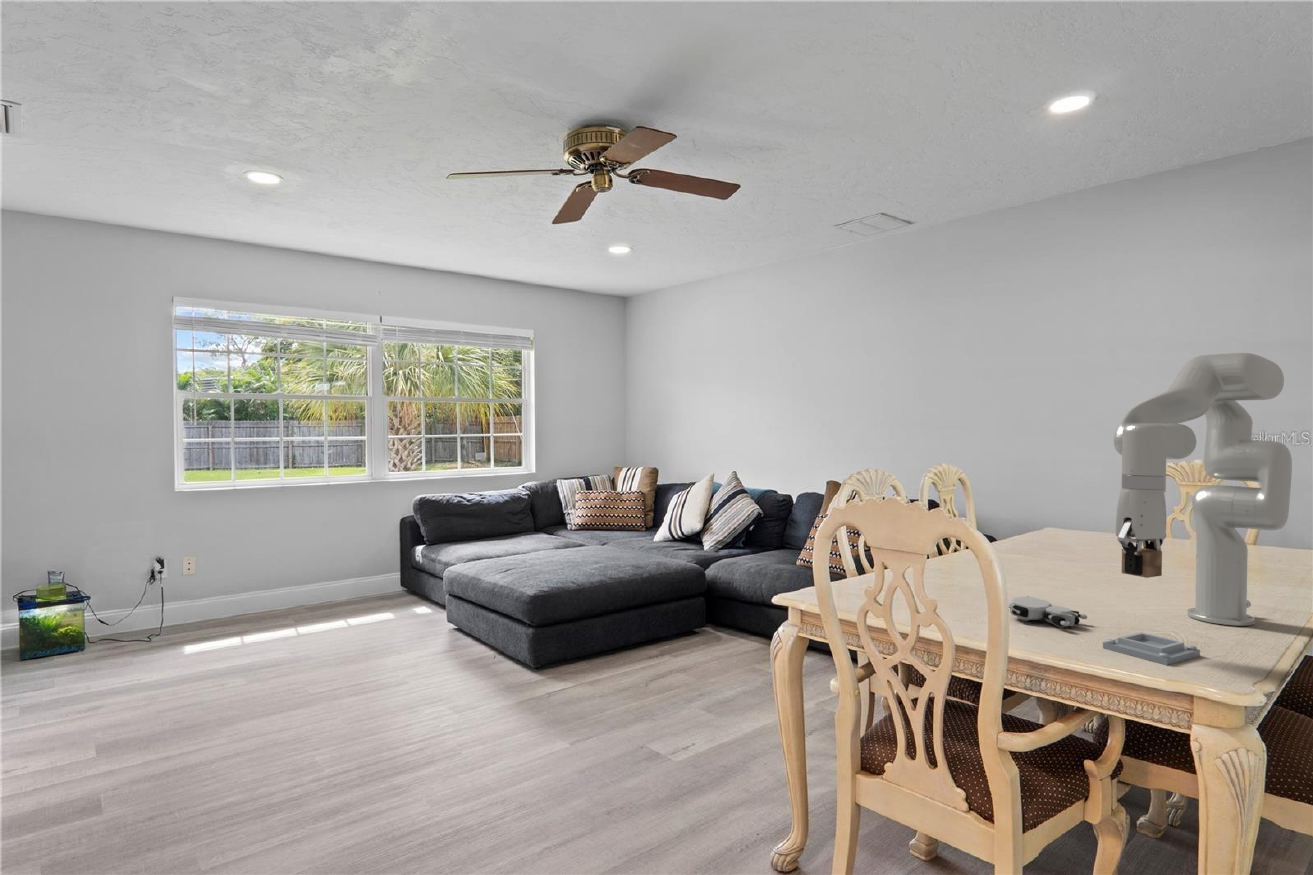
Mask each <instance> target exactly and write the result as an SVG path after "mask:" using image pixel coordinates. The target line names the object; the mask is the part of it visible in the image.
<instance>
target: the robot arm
mask: <svg viewBox="0 0 1313 875" xmlns="http://www.w3.org/2000/svg"><path fill="white" fill-rule="evenodd" d="M1284 385H1285V376H1284V373H1283V370H1282V368H1281V367H1280V366H1279V365H1278V364H1277V363H1276V362H1274V361H1272V360H1270V359H1267V358H1266V357H1264V356H1261V355H1259V354H1254V353H1250V352H1235V353H1234V352H1233V353H1219V354H1204V355H1199V356H1195V357H1193V358H1191V359H1189V360H1188V361H1186V362H1185V364H1184V365H1183V366H1182V368H1181V369H1180V371H1179V373H1178V374H1177V375H1176V377H1175V379H1174V380H1173V381H1172V383H1171V385H1170V386H1169V387H1168V389H1167V391H1164V392H1161V393H1160V394H1157V395H1155V396H1154V397H1151V398H1149V399H1147V400H1145V401H1142V402H1141V403H1139V404H1137V405H1135V406H1134V407H1132V408H1131V409H1130V410H1129V411H1128V412H1126V414H1125V415H1124V417H1123V418H1122V420H1121V421H1120V422H1119V424H1118V426H1117V428H1116V430H1115V432H1114V436H1113V446H1114V449H1115V451H1116V452H1117V453H1118V454H1119V455H1120V456H1121V490H1120V492H1119V496H1118V501H1117V509H1116V519H1115V536H1116V537H1117V541H1118V542H1119V544H1120V545H1121V547H1122V549H1123V553H1125V569H1124V571H1125V573H1129V574H1135V575H1142V561H1143V556H1142V555H1140V553H1141V548H1144V549H1150V550H1157V551H1162V548H1161V547H1162V545H1163V542H1164V540H1165V539H1166V537H1167V505H1166V496H1165V495H1166V494H1165V493H1166V491H1167V490H1166V484H1167V477H1166V476H1167V460H1181V459H1185V458H1188V457H1189V456H1191V454H1192V453H1193V452H1194V451H1195V449H1196V447H1197V437H1196V434H1195V432H1194V430H1193V429H1192V428H1190V427H1189V426H1188V425H1185V424H1182V423H1186V422H1189V421H1193V420H1196V419H1198V418H1201V417H1202V416H1204V415H1205V419H1206V430H1205V432H1206V433H1205V444H1204V457H1203V458H1204V460H1203V467H1204V472H1205V474H1206V475H1207V476H1208V477H1210V478H1213V479H1216V480H1222V481H1224V480H1225V481H1236V482H1237V481H1239V482H1250V483H1251V482H1254V483H1255V482H1257V483H1259V484H1261V487H1250V486H1249V487H1248V486H1240V485H1237V486H1236V485H1225V484H1224V485H1221V484H1213V485H1212V484H1211V485H1206V486H1203V487H1200V488H1197V490H1195V491H1194V493H1193V495H1192V500H1191V506H1192V511H1193V512H1192V514H1193V517H1194V521H1195V522H1194V523H1195V532H1196V536H1195V537H1196V545H1195V546H1196V551H1195V552H1196V553H1195V554H1196V556H1195V559H1196V560H1195V562H1196V563H1195V606H1194V607H1191V608H1189V609H1187V616H1188V617H1190V618H1191V619H1194V620H1198V621H1201V622H1206V623H1211V624H1217V625H1225V626H1236V627H1245V626H1253V625H1255V623H1256V618H1255V617H1254V616H1252V615H1249V614H1247V609H1249V608H1251V606H1252V603H1251V601H1250V600H1248V595H1247V594H1248V554H1249V552H1248V546H1247V543H1246V541H1245V539H1244V537H1242V535H1241V534H1240V533H1239V532H1238V530H1237V529H1250V530H1260V531H1278V530H1281V529H1282V528H1284V526H1286V524H1287V522H1288V518H1289V513H1290V501H1291V490H1292V488H1291V486H1292V476H1293V475H1292V474H1293V459H1292V453H1291V451H1290V449H1289V448H1288V446H1286V445H1285V444H1284V443H1282V442H1279V441H1273V440H1253V437H1252V434H1253V419H1252V417H1251V415H1250V413H1248V411H1247V410H1246V409H1245V407H1243V406H1242V404H1240V403H1238V402H1237V401H1266V400H1272V399H1275V398H1276V397H1278V396H1279V395H1280V394H1281V392H1282V391H1283V389H1284ZM1236 528H1237V529H1236ZM1134 543H1135V545H1134ZM1129 574H1128V575H1129Z"/></svg>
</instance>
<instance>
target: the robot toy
mask: <svg viewBox="0 0 1313 875" xmlns="http://www.w3.org/2000/svg"><path fill="white" fill-rule="evenodd" d="M1008 606H1009V607H1008V609H1009V608H1010V612H1009V613H1010V614H1011V615H1012V616H1014V617H1015V616H1016V617H1017V619H1018V620H1020V621H1022V622H1030V621H1031V620H1032V621H1038V620H1040V621H1041V620H1045V621H1046V622H1047V623H1049V624H1051V625H1054V626H1055V627H1058V628H1066V627H1069V626H1070V627H1074V626H1077V625H1079V623H1080V622H1081V620H1080V619H1082V620H1087V619H1088V615H1086V614H1084V613H1080V611H1077V610H1072V609H1071V608H1067V607H1064V606H1061V605H1060V606H1059V605H1056V604H1054V605H1053V604H1052V603H1051V602H1050V601H1048V600H1044V599H1042V598H1041V599H1040V598H1036V597H1032V596H1029V595H1026V596H1019V597H1014V598H1013V599H1011V600H1009V602H1008Z"/></svg>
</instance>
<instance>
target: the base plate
mask: <svg viewBox="0 0 1313 875" xmlns="http://www.w3.org/2000/svg"><path fill="white" fill-rule="evenodd" d="M1102 648H1103V649H1106V650H1110V651H1113V652H1118V653H1121V654H1123V655H1127V656H1131V657H1136V658H1139V659H1143V660H1146V661H1149V662H1153V663H1157V664H1161V665H1165V666H1168V665H1172V664H1176V663H1179V662H1183V661H1187V660H1190V659H1191V660H1192V659H1194V658H1196V657H1200V656H1201V649H1199V648H1198V647H1197V646H1196V645H1190V644H1189V645H1188V644H1187V645H1186V646H1185V642H1184V641H1180V640H1175V639H1170V638H1167V637H1163V636H1159V635H1155V634H1150V633H1146V632H1141V631H1140V632H1134V633H1131V634H1127V635H1123V636H1117V638H1115V639H1110V638H1106V640H1105V641H1102Z"/></svg>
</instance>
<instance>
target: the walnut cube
mask: <svg viewBox="0 0 1313 875" xmlns="http://www.w3.org/2000/svg"><path fill="white" fill-rule="evenodd" d="M1140 555H1142V556H1143V561H1142V575H1135V574H1129V573H1125V571H1124V569H1125V553H1123V548H1122V549H1121V574H1124V575H1130V576H1136V577H1141V578H1146V579H1147V578H1155V577H1162V574H1163V573H1162V569H1163V551H1162V550H1161V551H1157V550H1150V549H1144V547H1141V553H1140Z"/></svg>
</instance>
